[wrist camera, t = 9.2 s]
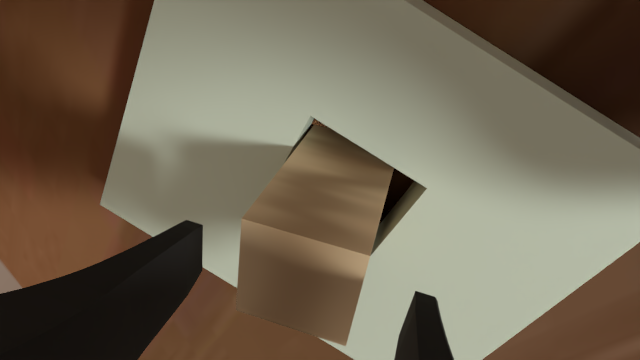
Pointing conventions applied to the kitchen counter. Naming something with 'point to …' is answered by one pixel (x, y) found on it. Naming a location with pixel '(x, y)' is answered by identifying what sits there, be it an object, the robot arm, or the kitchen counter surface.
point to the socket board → (381, 155)
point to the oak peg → (313, 236)
